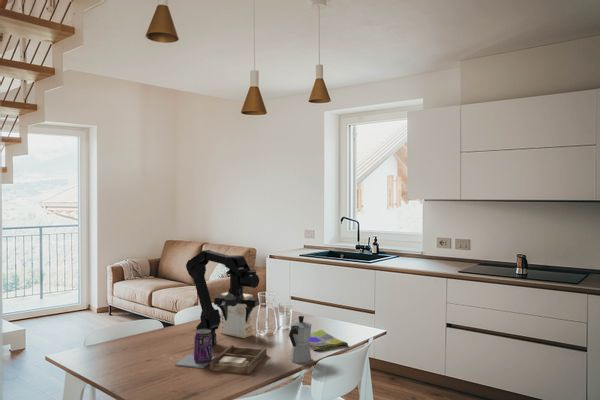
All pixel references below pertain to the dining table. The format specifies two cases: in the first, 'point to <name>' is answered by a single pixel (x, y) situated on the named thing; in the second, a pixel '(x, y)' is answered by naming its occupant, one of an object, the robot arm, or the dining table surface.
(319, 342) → the dish towel
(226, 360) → the offcut stack
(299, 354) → the coffee maker
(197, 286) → the robot arm
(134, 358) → the dining table surface
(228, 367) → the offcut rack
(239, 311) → the coffeecake box
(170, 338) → the dining table surface
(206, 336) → the beverage can
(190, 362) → the slate mat
